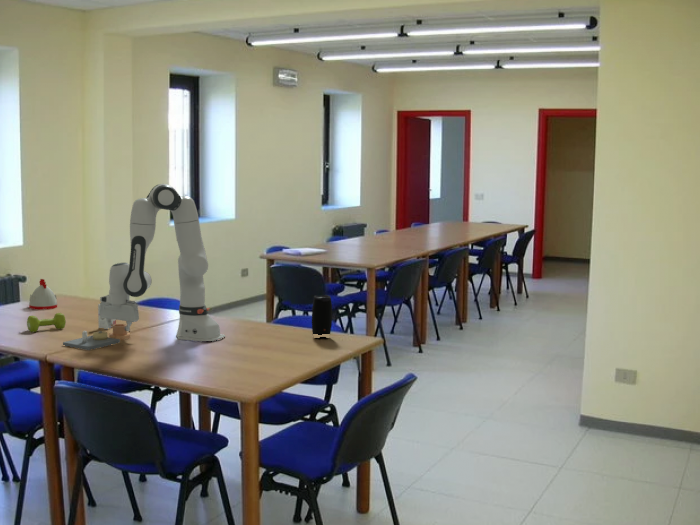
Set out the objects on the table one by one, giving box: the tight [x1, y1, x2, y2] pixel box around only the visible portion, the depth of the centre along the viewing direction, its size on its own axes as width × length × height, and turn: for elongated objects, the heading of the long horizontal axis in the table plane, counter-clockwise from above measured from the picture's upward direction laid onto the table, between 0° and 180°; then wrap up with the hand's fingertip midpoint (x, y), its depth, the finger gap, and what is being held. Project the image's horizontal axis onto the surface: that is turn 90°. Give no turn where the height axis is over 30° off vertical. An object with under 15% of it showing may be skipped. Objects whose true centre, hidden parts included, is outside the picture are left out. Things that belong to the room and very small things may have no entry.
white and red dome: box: [28, 278, 58, 311], centre depth 432 cm, size 14×14×15 cm
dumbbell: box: [26, 312, 67, 333], centre depth 378 cm, size 16×8×7 cm, turn 131°
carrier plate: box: [62, 330, 121, 351], centre depth 352 cm, size 15×18×6 cm
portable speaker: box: [311, 294, 333, 335], centre depth 379 cm, size 9×9×20 cm
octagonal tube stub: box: [108, 323, 131, 340], centre depth 367 cm, size 9×9×6 cm
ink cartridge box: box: [97, 303, 117, 330], centre depth 387 cm, size 9×5×15 cm, turn 168°
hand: (118, 329), depth 367 cm, fingers open, 8 cm apart
